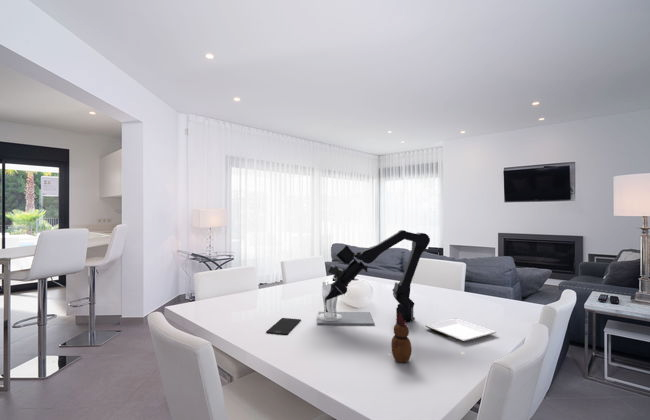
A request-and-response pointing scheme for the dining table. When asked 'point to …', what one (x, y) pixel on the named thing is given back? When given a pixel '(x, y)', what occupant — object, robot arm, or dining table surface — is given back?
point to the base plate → (347, 319)
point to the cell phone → (283, 326)
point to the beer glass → (329, 301)
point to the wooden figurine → (401, 341)
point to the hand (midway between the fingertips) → (326, 296)
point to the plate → (460, 329)
